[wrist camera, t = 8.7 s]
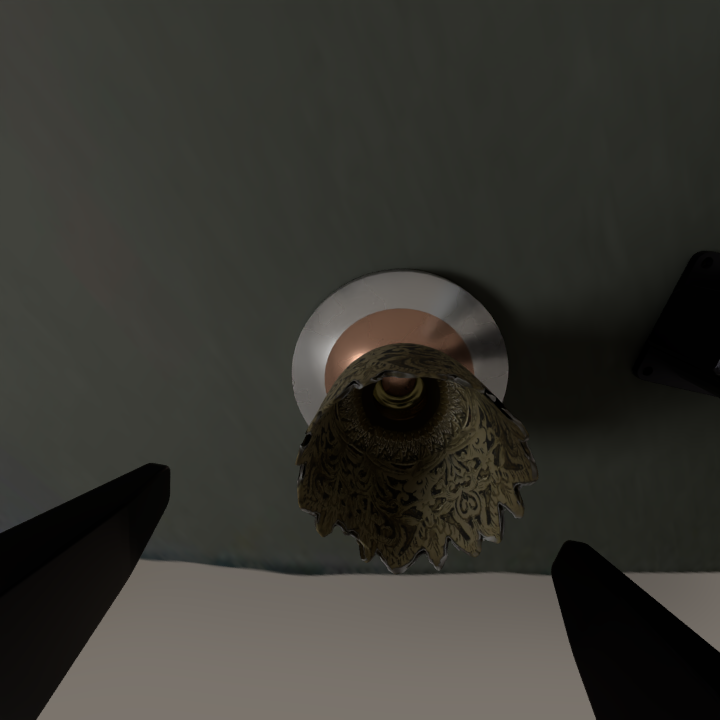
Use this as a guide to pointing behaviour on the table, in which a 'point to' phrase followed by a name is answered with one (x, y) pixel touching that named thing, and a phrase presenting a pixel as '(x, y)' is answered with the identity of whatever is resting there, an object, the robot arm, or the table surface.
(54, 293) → the table surface
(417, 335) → the rosette plate
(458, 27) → the table surface
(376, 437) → the cup
